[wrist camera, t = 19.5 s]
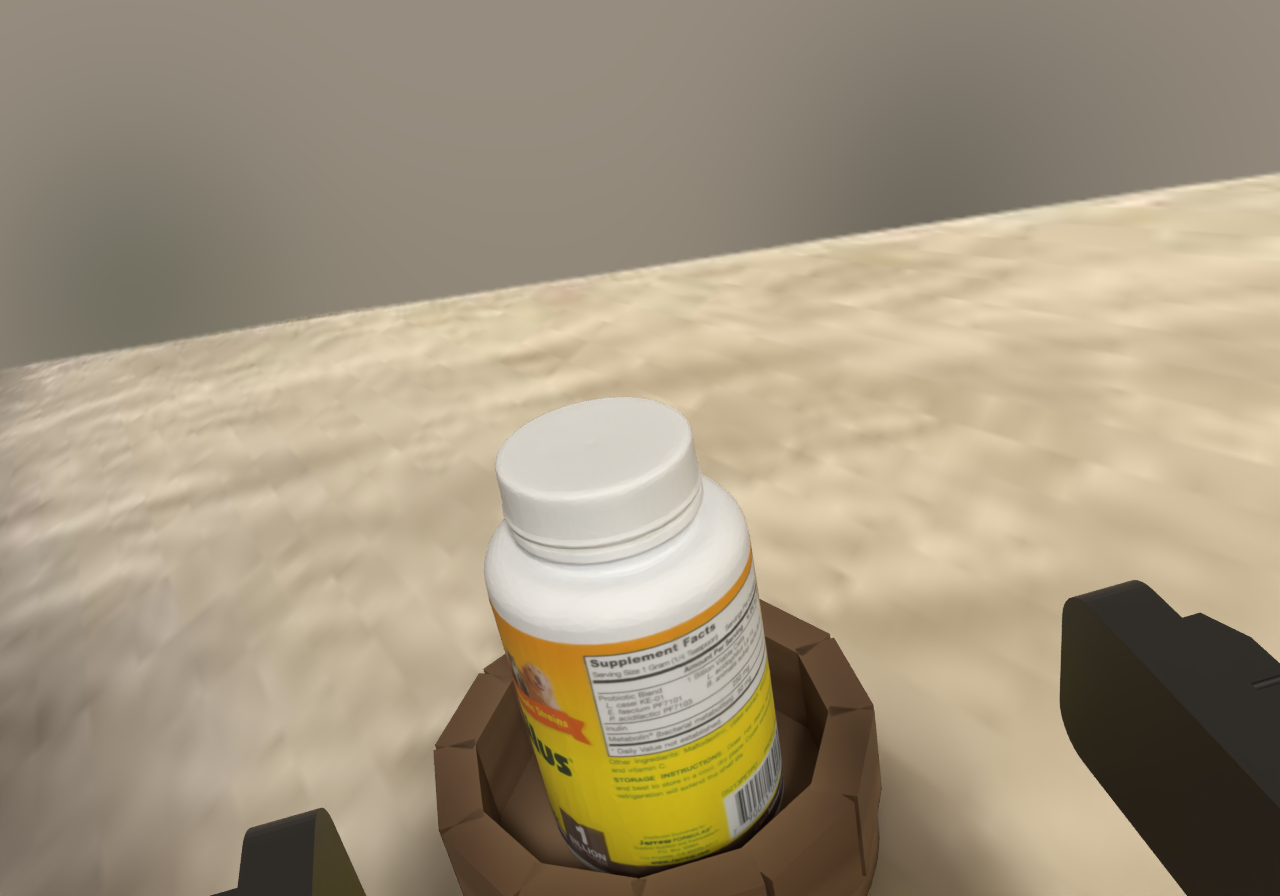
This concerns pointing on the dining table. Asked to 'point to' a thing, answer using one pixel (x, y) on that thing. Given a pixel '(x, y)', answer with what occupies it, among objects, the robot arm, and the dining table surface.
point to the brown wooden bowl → (703, 890)
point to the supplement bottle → (634, 637)
